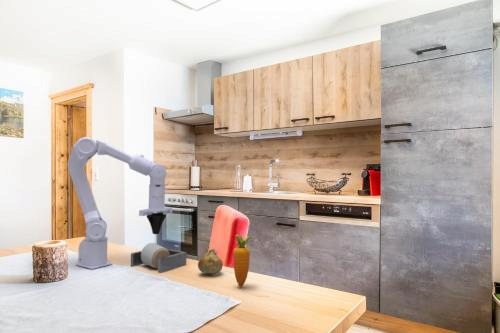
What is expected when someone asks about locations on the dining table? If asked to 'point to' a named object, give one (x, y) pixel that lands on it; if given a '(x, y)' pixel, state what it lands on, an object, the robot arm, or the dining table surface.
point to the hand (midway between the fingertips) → (155, 233)
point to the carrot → (241, 260)
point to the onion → (210, 263)
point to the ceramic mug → (153, 254)
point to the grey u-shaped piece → (163, 260)
